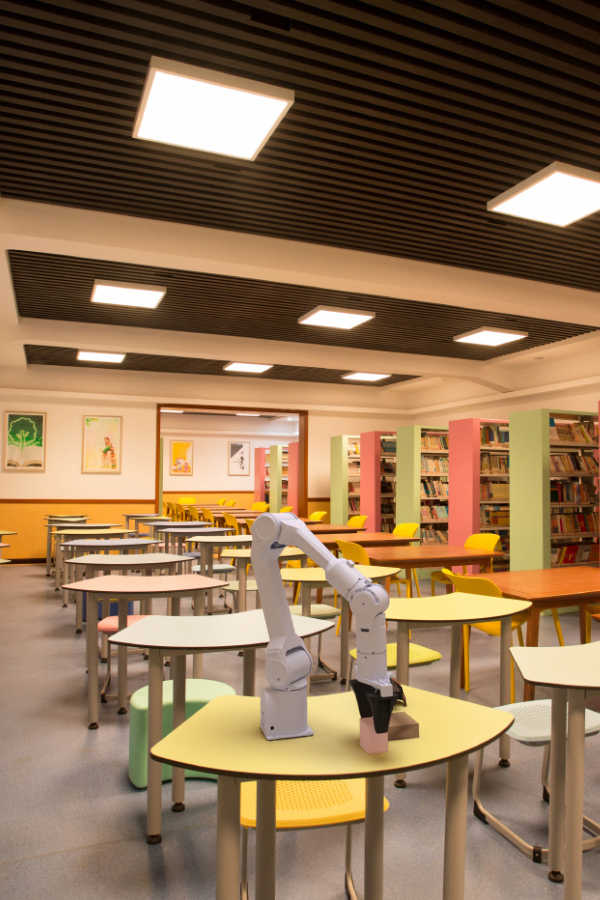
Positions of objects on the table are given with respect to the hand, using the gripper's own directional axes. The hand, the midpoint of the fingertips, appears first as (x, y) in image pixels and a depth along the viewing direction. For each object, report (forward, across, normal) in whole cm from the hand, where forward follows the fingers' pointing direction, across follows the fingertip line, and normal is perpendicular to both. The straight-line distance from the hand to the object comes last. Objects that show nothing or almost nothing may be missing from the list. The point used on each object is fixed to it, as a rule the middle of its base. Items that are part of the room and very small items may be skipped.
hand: (373, 725), depth 110 cm
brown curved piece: (+4, +23, -12) cm, 26 cm away
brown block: (+5, +6, -7) cm, 10 cm away
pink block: (+4, 0, 0) cm, 4 cm away
